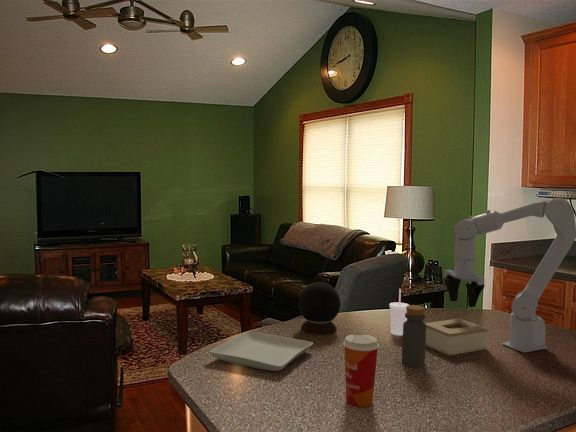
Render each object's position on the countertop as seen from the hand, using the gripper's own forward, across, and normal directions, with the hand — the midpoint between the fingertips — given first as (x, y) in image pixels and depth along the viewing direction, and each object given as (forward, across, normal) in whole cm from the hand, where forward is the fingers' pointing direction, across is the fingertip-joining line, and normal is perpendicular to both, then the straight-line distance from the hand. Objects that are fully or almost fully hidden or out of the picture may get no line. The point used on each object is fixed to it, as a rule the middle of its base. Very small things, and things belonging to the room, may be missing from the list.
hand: (462, 303), depth 162 cm
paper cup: (+11, +26, -54) cm, 61 cm away
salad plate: (+11, -8, -62) cm, 63 cm away
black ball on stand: (+11, -24, -36) cm, 45 cm away
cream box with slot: (+10, +6, -8) cm, 14 cm away
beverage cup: (+11, -11, -15) cm, 21 cm away
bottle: (+11, +12, -28) cm, 32 cm away
